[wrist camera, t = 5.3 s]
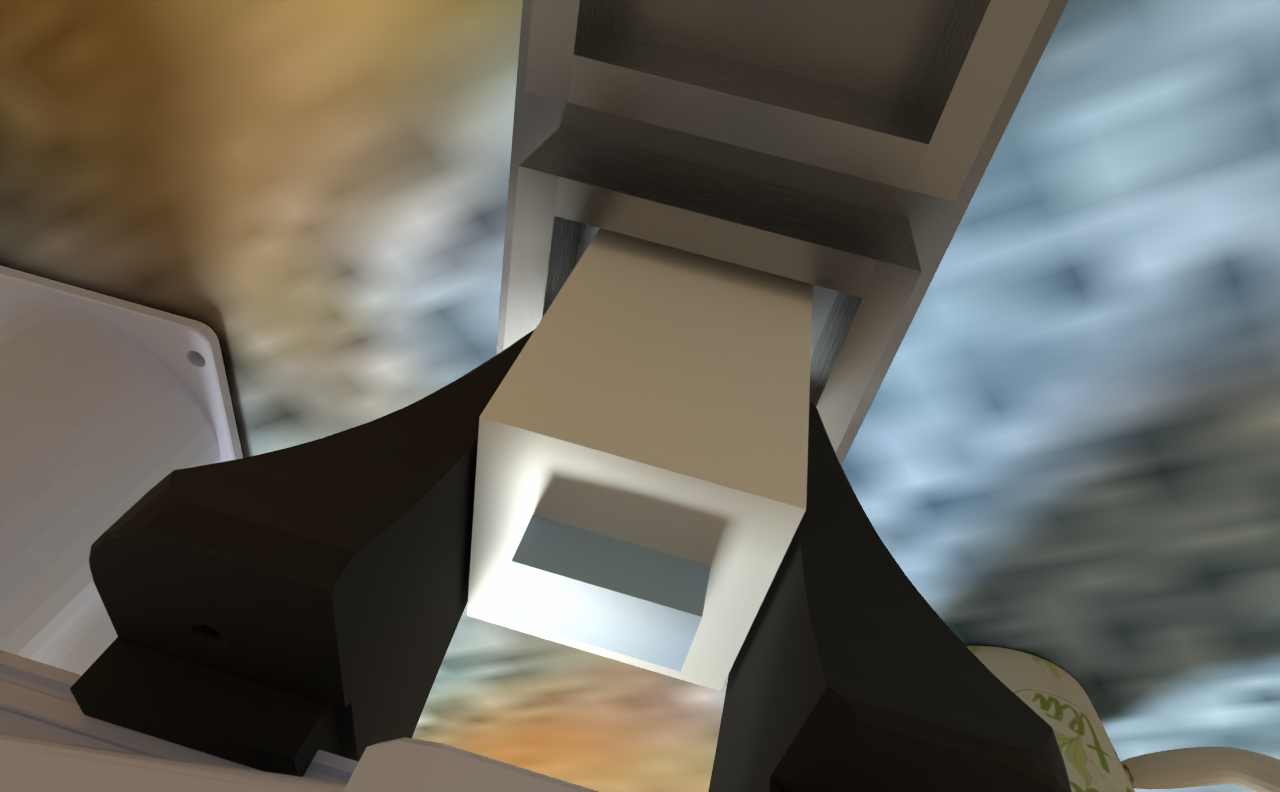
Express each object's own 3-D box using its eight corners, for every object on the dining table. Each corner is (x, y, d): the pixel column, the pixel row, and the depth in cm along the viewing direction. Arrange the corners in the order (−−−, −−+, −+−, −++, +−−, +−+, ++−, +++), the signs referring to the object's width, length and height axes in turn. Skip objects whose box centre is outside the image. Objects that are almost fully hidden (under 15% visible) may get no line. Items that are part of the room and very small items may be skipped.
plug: (755, 414, 16) (713, 742, 10) (586, 367, 17) (444, 660, 10) (813, 257, 14) (804, 561, 8) (614, 204, 14) (451, 459, 8)
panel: (828, 478, 18) (828, 563, 16) (499, 387, 18) (455, 457, 16) (1248, -398, 9) (1391, -490, 7) (576, -538, 9) (498, -668, 7)
